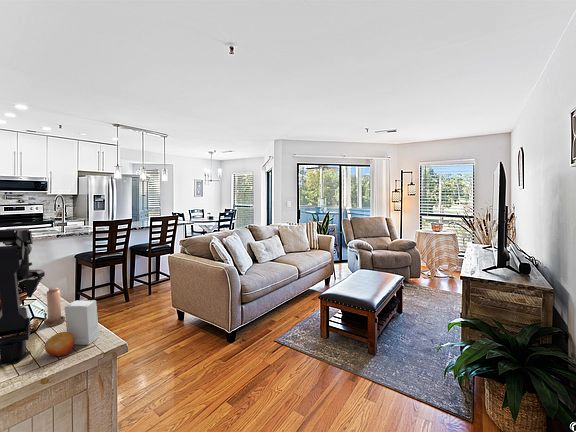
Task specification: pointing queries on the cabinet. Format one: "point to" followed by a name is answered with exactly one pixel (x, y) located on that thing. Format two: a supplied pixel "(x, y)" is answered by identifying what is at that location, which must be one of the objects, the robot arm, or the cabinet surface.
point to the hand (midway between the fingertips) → (20, 301)
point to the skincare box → (82, 321)
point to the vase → (54, 305)
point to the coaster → (54, 322)
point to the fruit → (60, 344)
